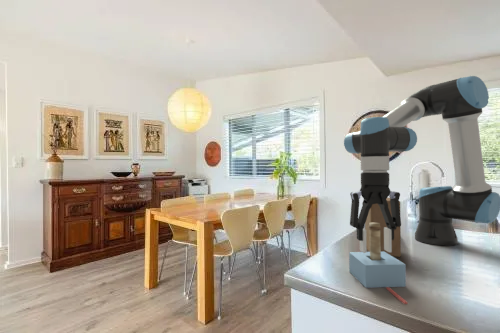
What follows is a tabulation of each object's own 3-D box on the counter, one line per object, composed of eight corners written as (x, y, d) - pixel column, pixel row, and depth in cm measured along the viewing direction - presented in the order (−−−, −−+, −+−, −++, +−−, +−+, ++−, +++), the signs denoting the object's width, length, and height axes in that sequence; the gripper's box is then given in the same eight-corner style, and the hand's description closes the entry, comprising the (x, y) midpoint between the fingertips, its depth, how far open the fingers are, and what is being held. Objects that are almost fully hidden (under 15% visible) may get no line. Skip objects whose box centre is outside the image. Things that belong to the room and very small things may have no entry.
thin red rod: (389, 288, 73) (389, 287, 73) (407, 304, 65) (407, 302, 65) (386, 288, 73) (386, 287, 73) (404, 304, 65) (404, 302, 65)
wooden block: (401, 257, 97) (400, 200, 97) (371, 255, 99) (370, 200, 99) (392, 248, 107) (392, 197, 107) (365, 247, 109) (364, 197, 109)
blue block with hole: (384, 270, 85) (384, 251, 85) (405, 286, 74) (405, 264, 74) (349, 271, 85) (349, 252, 85) (365, 287, 74) (365, 265, 74)
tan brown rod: (378, 276, 81) (377, 222, 81) (383, 280, 78) (382, 224, 78) (368, 276, 81) (367, 222, 81) (373, 280, 78) (372, 224, 78)
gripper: (400, 170, 83) (400, 246, 83) (336, 171, 83) (337, 248, 83) (416, 171, 76) (416, 254, 76) (346, 172, 75) (347, 256, 75)
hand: (375, 251), depth 79 cm, fingers open, 7 cm apart
